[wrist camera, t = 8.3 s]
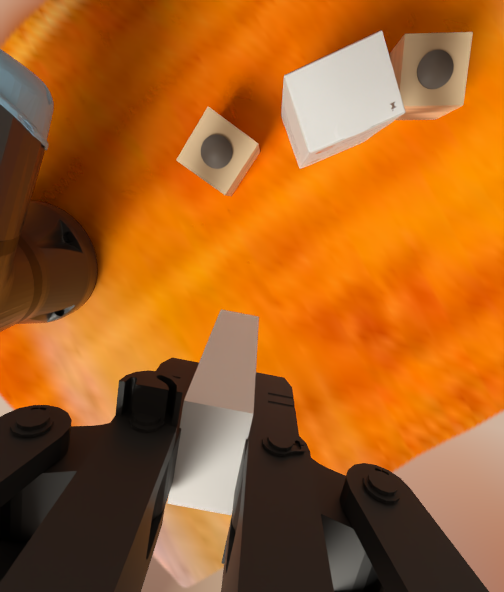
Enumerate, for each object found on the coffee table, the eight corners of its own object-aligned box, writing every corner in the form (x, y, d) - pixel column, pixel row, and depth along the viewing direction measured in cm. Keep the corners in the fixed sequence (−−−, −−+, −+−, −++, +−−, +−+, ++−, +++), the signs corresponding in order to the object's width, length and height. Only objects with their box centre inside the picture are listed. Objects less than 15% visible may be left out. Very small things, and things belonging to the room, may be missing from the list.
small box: (348, 83, 39) (384, 26, 26) (366, 141, 40) (409, 113, 28) (278, 114, 40) (282, 74, 28) (298, 170, 42) (309, 155, 29)
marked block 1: (189, 166, 42) (175, 160, 36) (217, 120, 41) (207, 105, 35) (231, 196, 43) (224, 195, 37) (260, 151, 41) (258, 143, 35)
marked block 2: (380, 120, 40) (399, 105, 34) (384, 59, 38) (405, 32, 32) (435, 119, 40) (464, 104, 34) (442, 58, 38) (474, 30, 32)
